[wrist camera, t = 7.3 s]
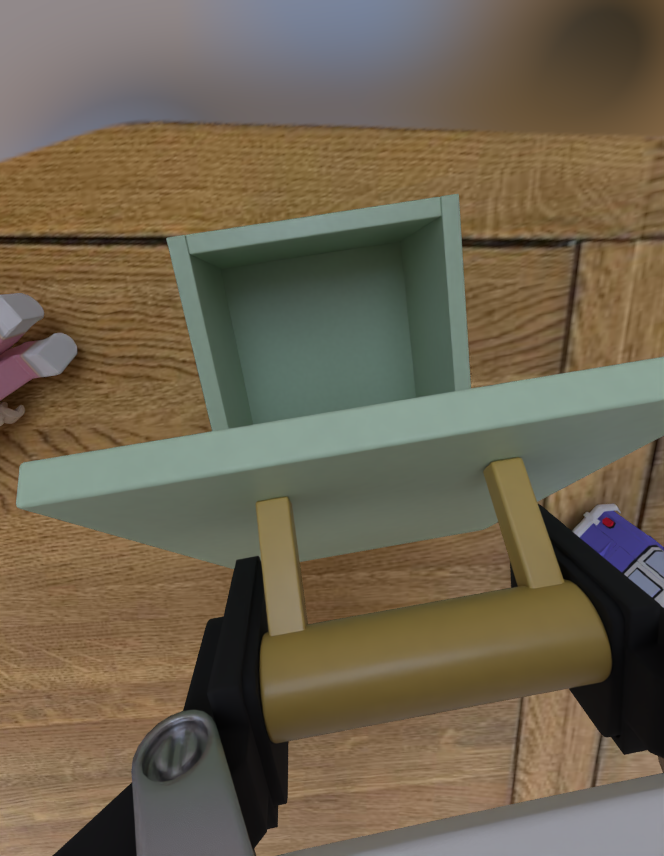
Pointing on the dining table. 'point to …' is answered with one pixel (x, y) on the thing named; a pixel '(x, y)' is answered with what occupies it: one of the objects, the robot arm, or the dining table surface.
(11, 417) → the toy
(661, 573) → the toy car
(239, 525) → the lid
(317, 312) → the chest
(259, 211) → the dining table surface
